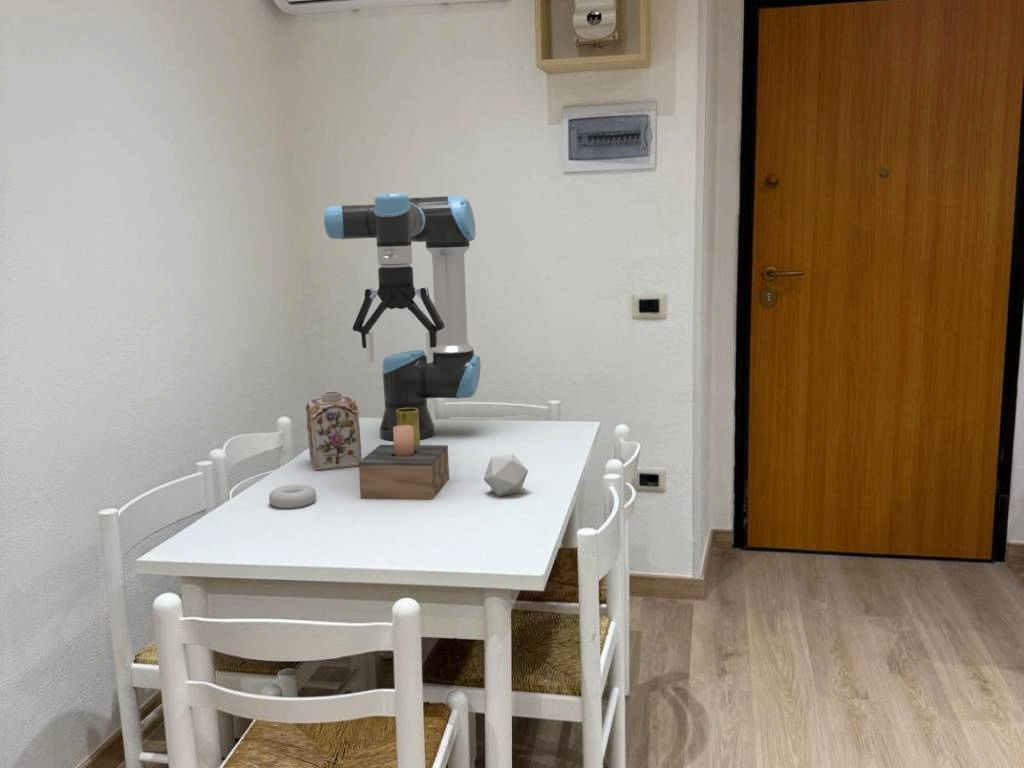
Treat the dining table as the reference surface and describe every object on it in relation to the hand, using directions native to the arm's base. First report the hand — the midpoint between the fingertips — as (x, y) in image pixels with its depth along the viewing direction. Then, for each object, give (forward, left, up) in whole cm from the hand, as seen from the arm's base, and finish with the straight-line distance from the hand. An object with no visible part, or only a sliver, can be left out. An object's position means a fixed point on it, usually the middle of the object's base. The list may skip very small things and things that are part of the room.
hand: (400, 362), depth 213 cm
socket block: (+3, +1, -28) cm, 28 cm away
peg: (+3, +1, -22) cm, 22 cm away
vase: (-15, -3, -28) cm, 32 cm away
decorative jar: (-18, -23, -28) cm, 41 cm away
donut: (+15, -21, -28) cm, 38 cm away
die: (+5, +24, -28) cm, 37 cm away
